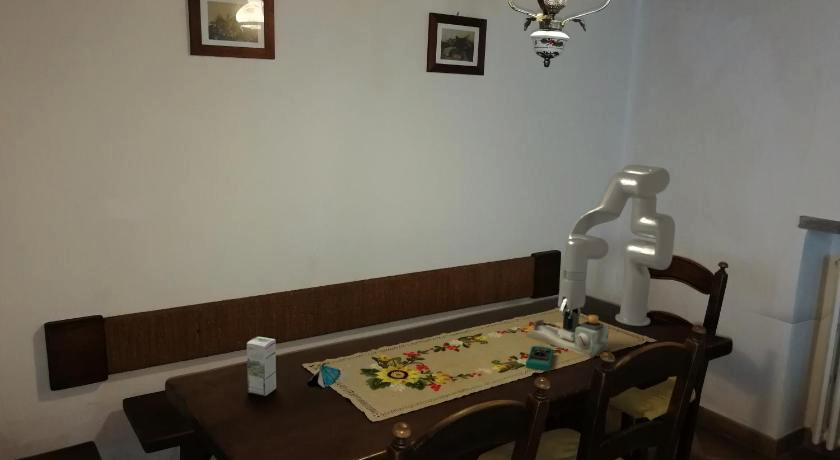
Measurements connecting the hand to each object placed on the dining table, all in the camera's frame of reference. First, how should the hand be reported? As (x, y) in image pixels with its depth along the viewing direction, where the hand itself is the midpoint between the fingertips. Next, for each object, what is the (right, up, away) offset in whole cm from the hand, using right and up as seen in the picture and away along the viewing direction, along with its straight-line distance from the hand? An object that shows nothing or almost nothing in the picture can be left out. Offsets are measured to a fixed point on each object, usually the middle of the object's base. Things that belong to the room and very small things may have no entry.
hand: (570, 327), depth 222 cm
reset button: (+6, +3, -7) cm, 9 cm away
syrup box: (-94, -11, -44) cm, 105 cm away
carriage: (0, -4, +1) cm, 4 cm away
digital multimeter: (-13, -9, -16) cm, 22 cm away
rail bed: (-1, -5, +2) cm, 6 cm away
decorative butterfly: (-79, -10, -35) cm, 87 cm away
